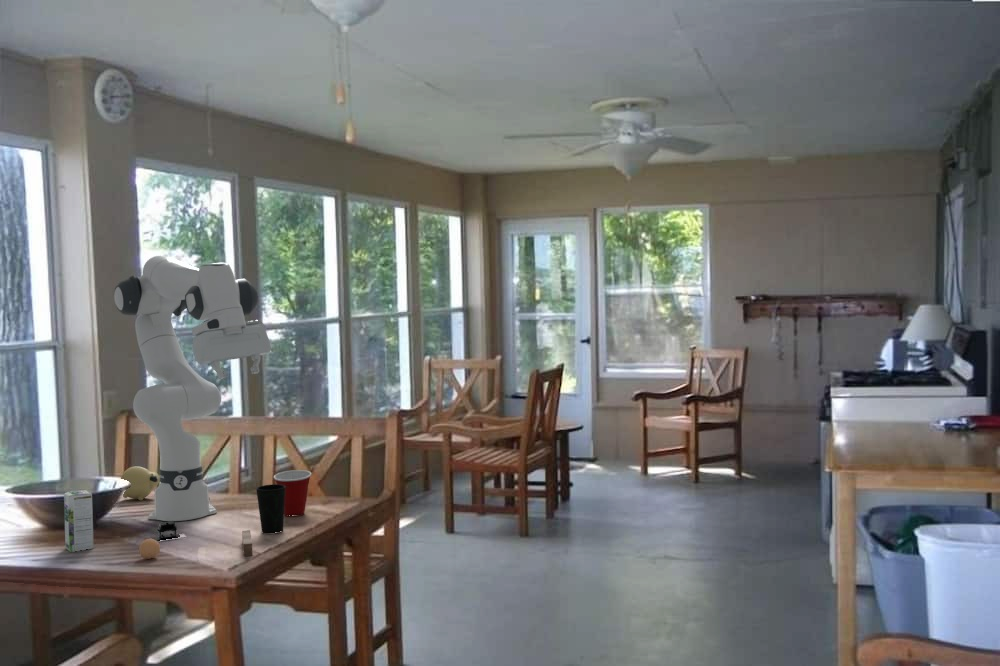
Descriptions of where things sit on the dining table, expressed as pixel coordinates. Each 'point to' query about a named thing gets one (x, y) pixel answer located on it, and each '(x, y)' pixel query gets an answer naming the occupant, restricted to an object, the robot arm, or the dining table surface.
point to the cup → (271, 507)
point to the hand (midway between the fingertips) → (239, 375)
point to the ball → (149, 548)
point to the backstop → (247, 543)
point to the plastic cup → (294, 490)
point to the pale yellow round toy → (140, 482)
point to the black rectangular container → (166, 527)
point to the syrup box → (78, 520)
